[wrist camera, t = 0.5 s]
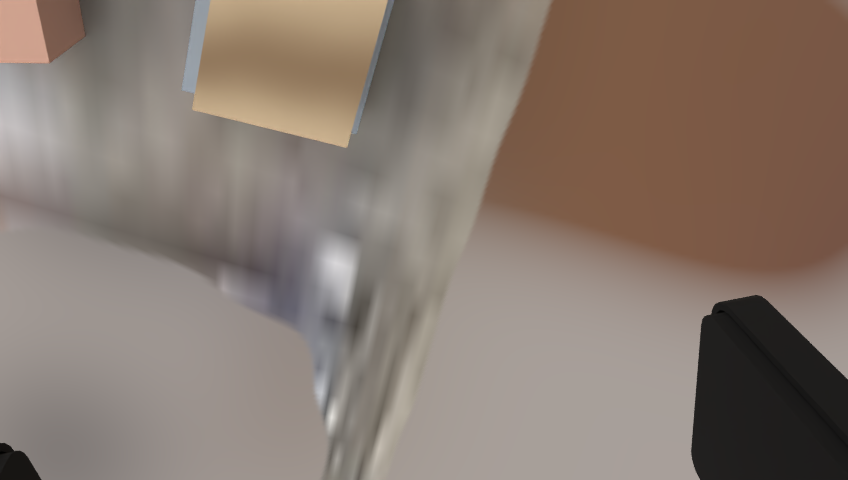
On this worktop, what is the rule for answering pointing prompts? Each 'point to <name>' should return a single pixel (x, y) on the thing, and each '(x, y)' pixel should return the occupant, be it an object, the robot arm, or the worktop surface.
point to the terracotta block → (38, 29)
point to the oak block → (288, 63)
